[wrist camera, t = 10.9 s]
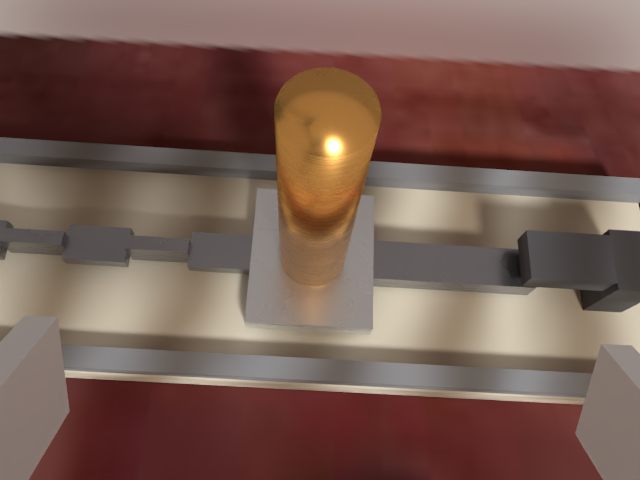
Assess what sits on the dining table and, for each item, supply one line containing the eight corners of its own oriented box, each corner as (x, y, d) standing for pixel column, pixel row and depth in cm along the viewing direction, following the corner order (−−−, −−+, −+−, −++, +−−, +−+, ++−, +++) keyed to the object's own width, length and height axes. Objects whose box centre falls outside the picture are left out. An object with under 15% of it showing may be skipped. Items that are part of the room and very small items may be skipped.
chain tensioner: (-134, 306, 27) (-469, 168, 15) (-87, 177, 30) (-340, -29, 18) (531, 344, 28) (713, 240, 16) (519, 215, 31) (666, 43, 19)
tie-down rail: (-336, 356, 28) (-460, 331, 23) (-233, 143, 33) (-319, 88, 28) (658, 408, 29) (726, 395, 25) (620, 197, 34) (672, 153, 29)
